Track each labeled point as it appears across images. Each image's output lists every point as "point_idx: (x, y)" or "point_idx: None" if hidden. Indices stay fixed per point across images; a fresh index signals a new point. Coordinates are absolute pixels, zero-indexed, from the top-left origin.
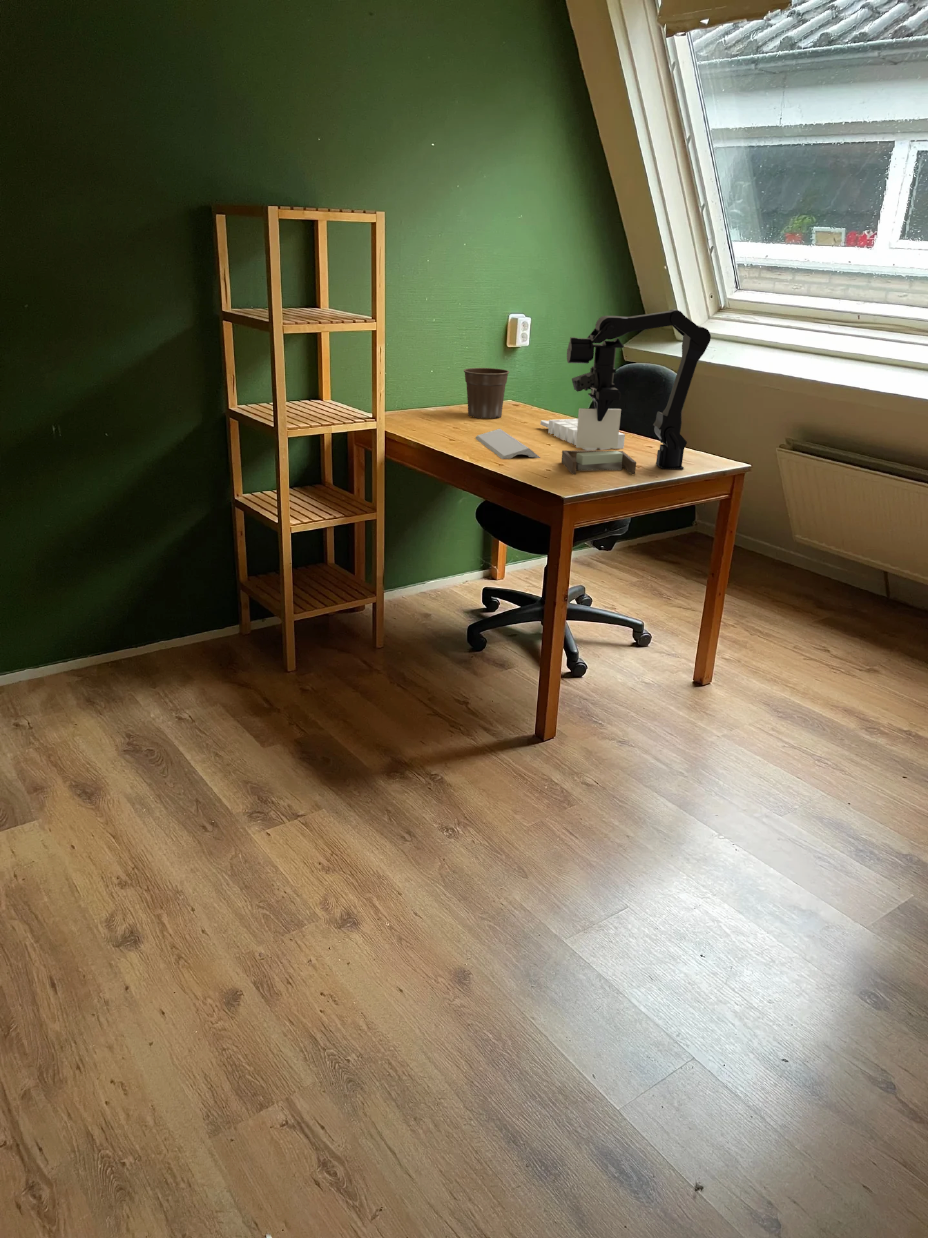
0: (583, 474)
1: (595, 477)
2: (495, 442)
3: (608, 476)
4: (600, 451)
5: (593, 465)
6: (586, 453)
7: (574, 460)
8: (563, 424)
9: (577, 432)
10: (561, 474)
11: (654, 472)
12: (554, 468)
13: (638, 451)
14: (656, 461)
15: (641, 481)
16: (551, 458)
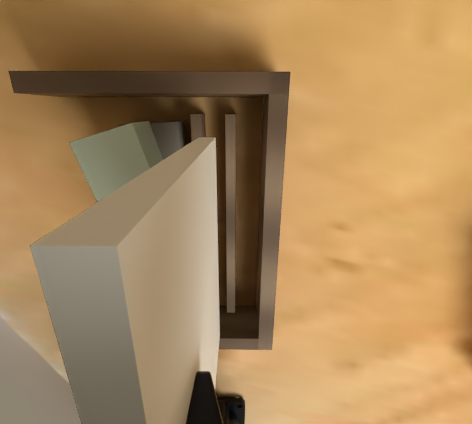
0: (62, 132)
1: (23, 170)
2: None
3: (53, 223)
4: (261, 266)
5: None
6: (131, 177)
7: (42, 87)
8: None
9: (184, 149)
10: (36, 20)
11: None
12: (153, 9)
13: (420, 398)
14: (221, 406)
15: (12, 308)
16: (365, 43)
